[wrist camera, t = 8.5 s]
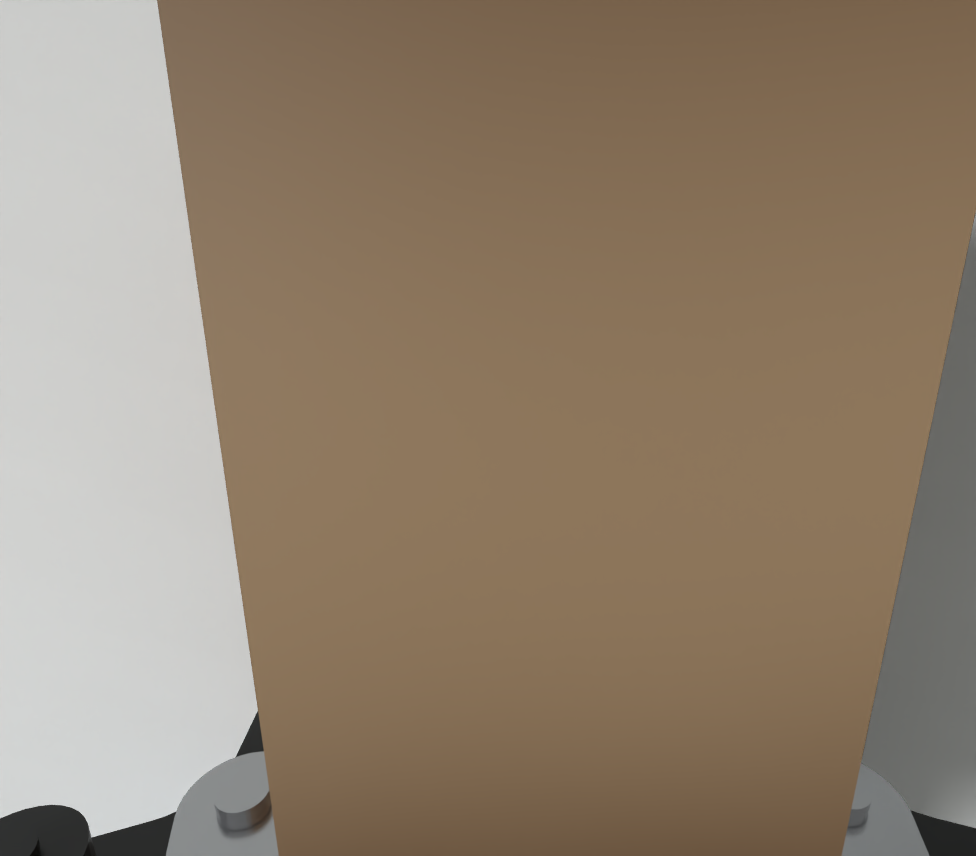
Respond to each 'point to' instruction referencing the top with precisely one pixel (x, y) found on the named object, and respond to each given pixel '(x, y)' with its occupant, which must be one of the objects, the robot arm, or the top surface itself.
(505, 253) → the rail
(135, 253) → the top surface
